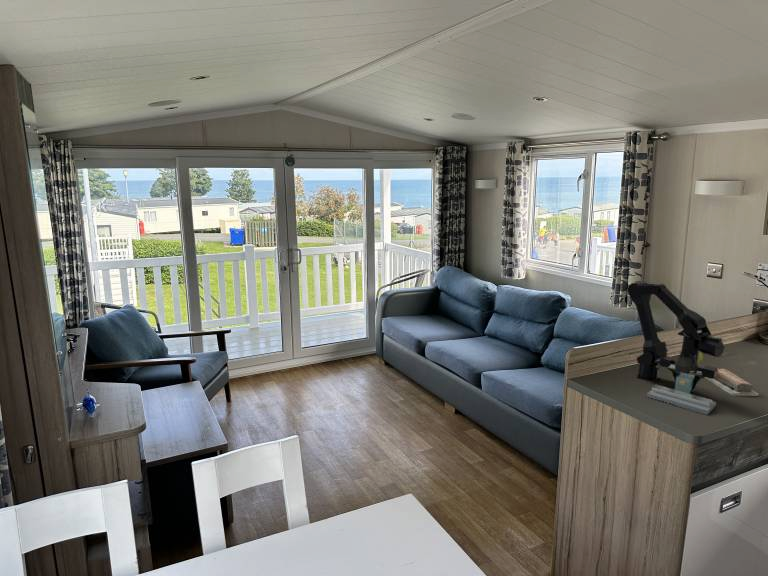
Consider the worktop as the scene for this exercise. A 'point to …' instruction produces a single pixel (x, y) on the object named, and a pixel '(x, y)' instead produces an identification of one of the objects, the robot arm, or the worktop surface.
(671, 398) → the plate
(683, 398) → the din rail
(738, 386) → the packaged product
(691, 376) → the block
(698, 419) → the worktop surface
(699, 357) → the light bulb
